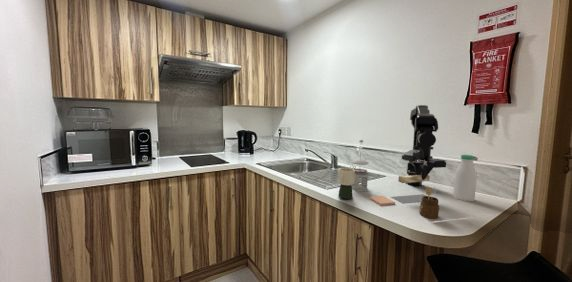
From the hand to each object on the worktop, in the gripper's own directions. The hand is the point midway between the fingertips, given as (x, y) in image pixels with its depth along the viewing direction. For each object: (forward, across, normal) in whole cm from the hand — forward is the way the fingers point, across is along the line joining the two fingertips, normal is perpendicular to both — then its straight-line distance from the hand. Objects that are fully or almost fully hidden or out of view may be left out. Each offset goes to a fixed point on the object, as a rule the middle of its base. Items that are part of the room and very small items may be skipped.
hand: (420, 178), depth 102 cm
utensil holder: (+9, +16, -11) cm, 22 cm away
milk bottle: (+10, +4, +20) cm, 22 cm away
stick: (+1, 0, -4) cm, 4 cm away
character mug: (+9, -8, -32) cm, 34 cm away
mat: (+9, 0, -3) cm, 10 cm away
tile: (+9, 0, -16) cm, 18 cm away
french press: (+9, -18, -20) cm, 29 cm away
